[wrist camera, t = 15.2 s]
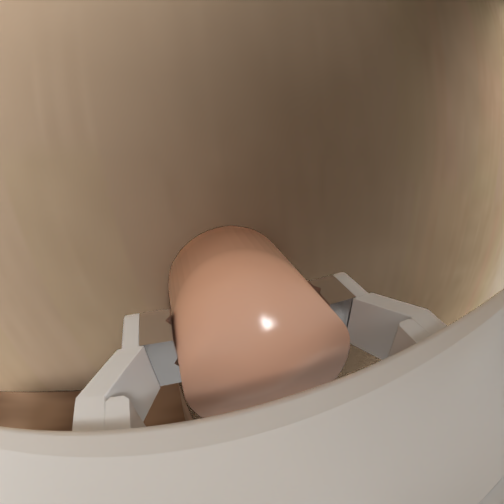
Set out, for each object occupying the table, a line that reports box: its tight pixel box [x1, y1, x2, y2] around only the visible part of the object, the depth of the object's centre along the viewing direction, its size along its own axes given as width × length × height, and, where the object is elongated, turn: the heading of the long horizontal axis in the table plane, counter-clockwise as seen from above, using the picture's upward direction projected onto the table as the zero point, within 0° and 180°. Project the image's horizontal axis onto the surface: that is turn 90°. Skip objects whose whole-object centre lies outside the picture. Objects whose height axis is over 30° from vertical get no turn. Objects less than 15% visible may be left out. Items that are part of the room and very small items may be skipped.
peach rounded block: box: [168, 226, 350, 418], centre depth 9 cm, size 5×5×5 cm
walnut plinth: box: [0, 383, 193, 431], centre depth 13 cm, size 12×12×3 cm
